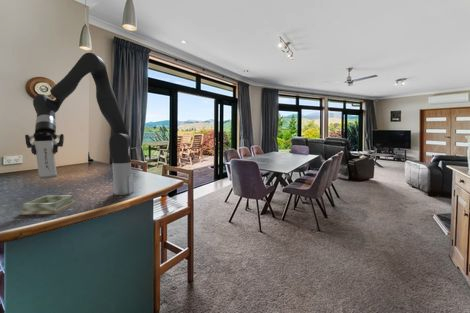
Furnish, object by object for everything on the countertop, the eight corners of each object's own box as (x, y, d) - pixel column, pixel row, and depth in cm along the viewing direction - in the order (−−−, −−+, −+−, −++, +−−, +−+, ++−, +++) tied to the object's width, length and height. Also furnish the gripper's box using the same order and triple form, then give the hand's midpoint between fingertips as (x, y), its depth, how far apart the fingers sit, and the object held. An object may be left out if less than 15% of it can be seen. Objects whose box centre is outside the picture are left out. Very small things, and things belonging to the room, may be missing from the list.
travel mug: (45, 176, 106) (40, 133, 103) (60, 175, 106) (55, 132, 104) (34, 179, 100) (28, 133, 97) (50, 178, 100) (45, 133, 97)
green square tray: (76, 203, 109) (75, 194, 109) (55, 213, 95) (54, 204, 95) (45, 203, 108) (45, 195, 108) (20, 214, 94) (19, 204, 94)
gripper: (23, 120, 102) (20, 148, 94) (63, 120, 110) (64, 146, 101) (27, 132, 107) (25, 159, 99) (65, 131, 115) (66, 157, 106)
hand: (44, 153), depth 100 cm, fingers closed on travel mug, 6 cm apart
